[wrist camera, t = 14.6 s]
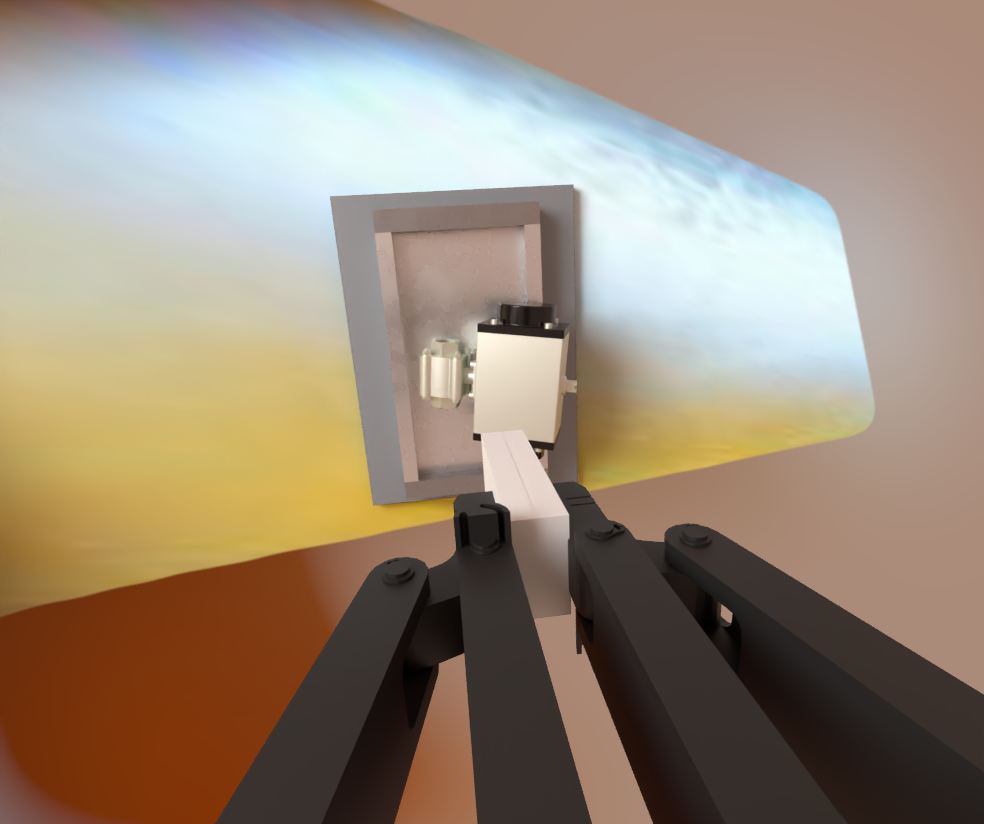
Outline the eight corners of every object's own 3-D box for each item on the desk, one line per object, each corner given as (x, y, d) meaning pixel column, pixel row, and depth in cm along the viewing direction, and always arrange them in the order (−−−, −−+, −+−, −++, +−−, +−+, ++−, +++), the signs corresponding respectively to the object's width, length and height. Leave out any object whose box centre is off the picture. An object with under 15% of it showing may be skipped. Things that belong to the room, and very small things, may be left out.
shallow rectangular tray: (408, 487, 45) (406, 499, 42) (375, 213, 38) (371, 209, 36) (542, 474, 46) (548, 485, 43) (533, 205, 39) (539, 201, 37)
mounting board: (374, 500, 46) (373, 505, 45) (332, 198, 39) (330, 196, 38) (574, 480, 47) (577, 484, 47) (570, 186, 40) (573, 184, 39)
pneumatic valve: (414, 449, 39) (566, 471, 36) (415, 298, 36) (583, 310, 33) (437, 428, 44) (572, 446, 42) (440, 294, 41) (587, 304, 38)
